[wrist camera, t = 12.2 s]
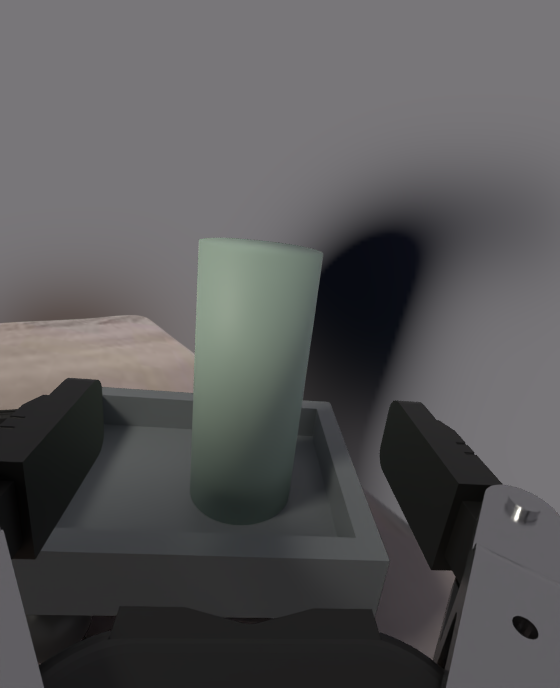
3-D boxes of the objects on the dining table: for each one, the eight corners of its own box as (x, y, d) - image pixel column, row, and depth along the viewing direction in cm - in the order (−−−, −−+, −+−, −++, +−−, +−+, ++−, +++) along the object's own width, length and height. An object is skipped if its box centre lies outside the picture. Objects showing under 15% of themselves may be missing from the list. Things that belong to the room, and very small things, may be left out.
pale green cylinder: (181, 523, 17) (189, 246, 13) (197, 454, 22) (206, 234, 18) (293, 527, 18) (334, 261, 14) (285, 459, 22) (313, 246, 18)
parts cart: (-21, 695, 15) (-56, 548, 13) (96, 485, 26) (90, 386, 24) (354, 693, 17) (389, 561, 14) (313, 495, 28) (329, 402, 25)
